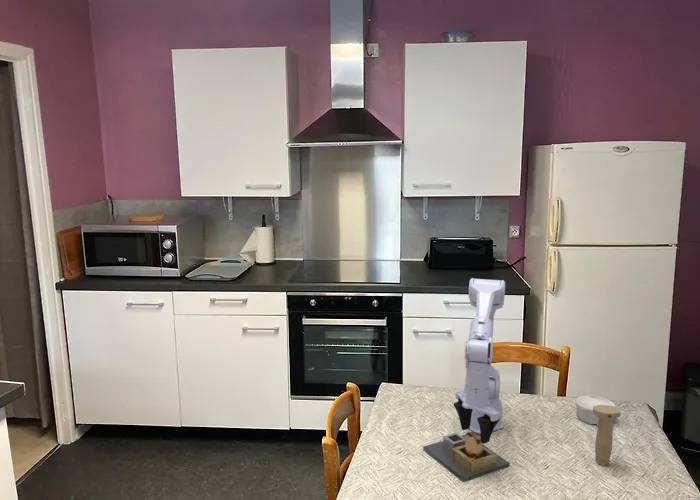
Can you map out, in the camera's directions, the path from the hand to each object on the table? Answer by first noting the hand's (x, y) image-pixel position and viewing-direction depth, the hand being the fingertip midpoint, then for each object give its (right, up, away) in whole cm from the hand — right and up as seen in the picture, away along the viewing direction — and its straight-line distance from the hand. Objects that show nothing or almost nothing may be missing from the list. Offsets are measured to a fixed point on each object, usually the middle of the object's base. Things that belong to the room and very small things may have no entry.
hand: (475, 435), depth 146 cm
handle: (+34, -8, +2) cm, 35 cm away
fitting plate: (-2, -7, +4) cm, 9 cm away
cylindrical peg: (0, -7, +1) cm, 7 cm away
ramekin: (+42, -4, +27) cm, 50 cm away
